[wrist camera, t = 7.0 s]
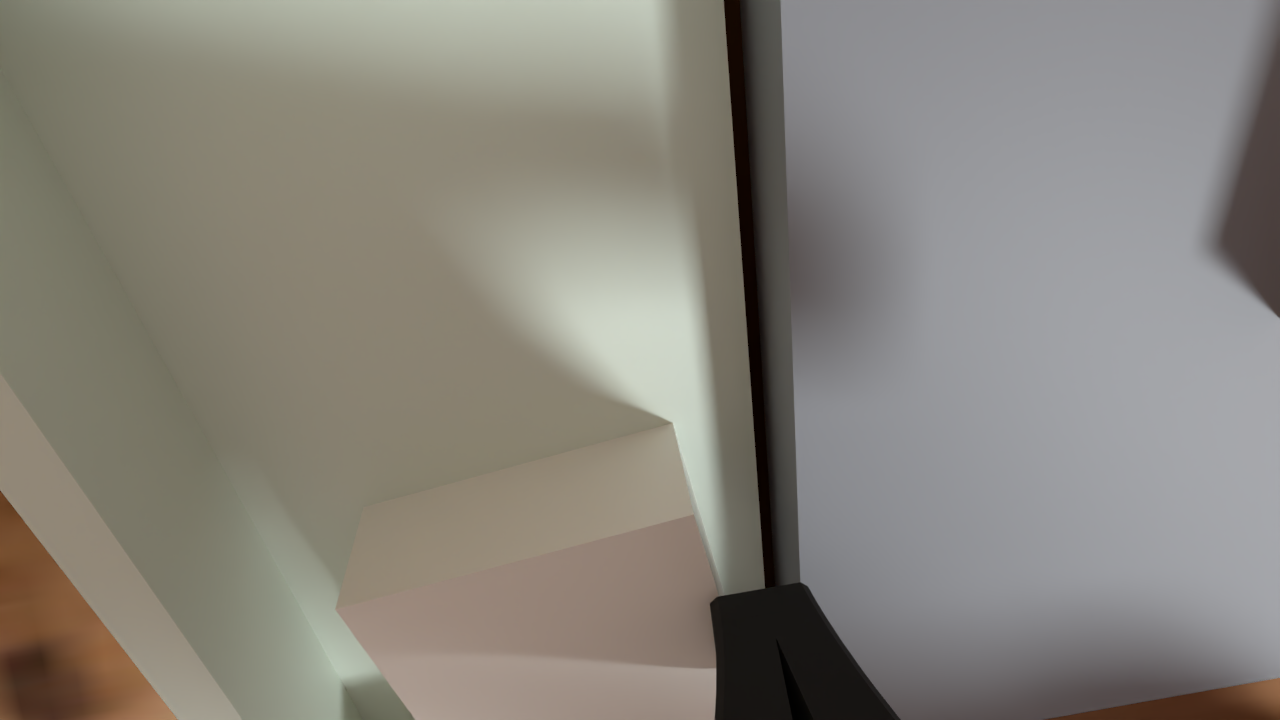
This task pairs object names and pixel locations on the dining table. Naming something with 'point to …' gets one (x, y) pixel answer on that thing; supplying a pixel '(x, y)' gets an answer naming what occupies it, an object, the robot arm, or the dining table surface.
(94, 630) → the dining table surface
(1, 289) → the tray
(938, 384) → the board
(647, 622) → the cream tile
